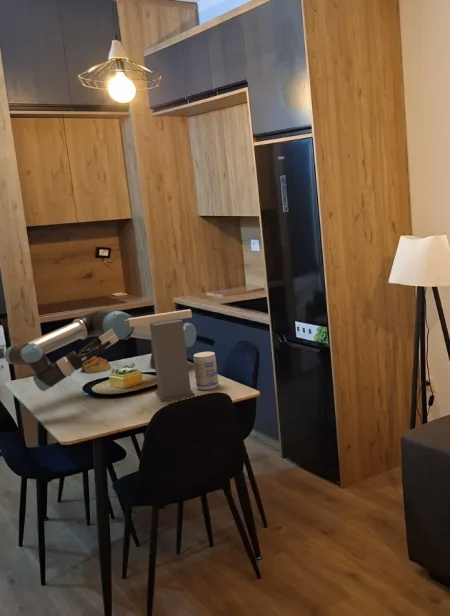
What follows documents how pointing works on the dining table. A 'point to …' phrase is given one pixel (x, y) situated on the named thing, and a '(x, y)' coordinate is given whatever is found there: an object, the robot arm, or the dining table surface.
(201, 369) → the supplement tub
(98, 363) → the pastry
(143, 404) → the dining table surface
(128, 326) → the robot arm
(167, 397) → the stand
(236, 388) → the dining table surface
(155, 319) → the beige square bar
